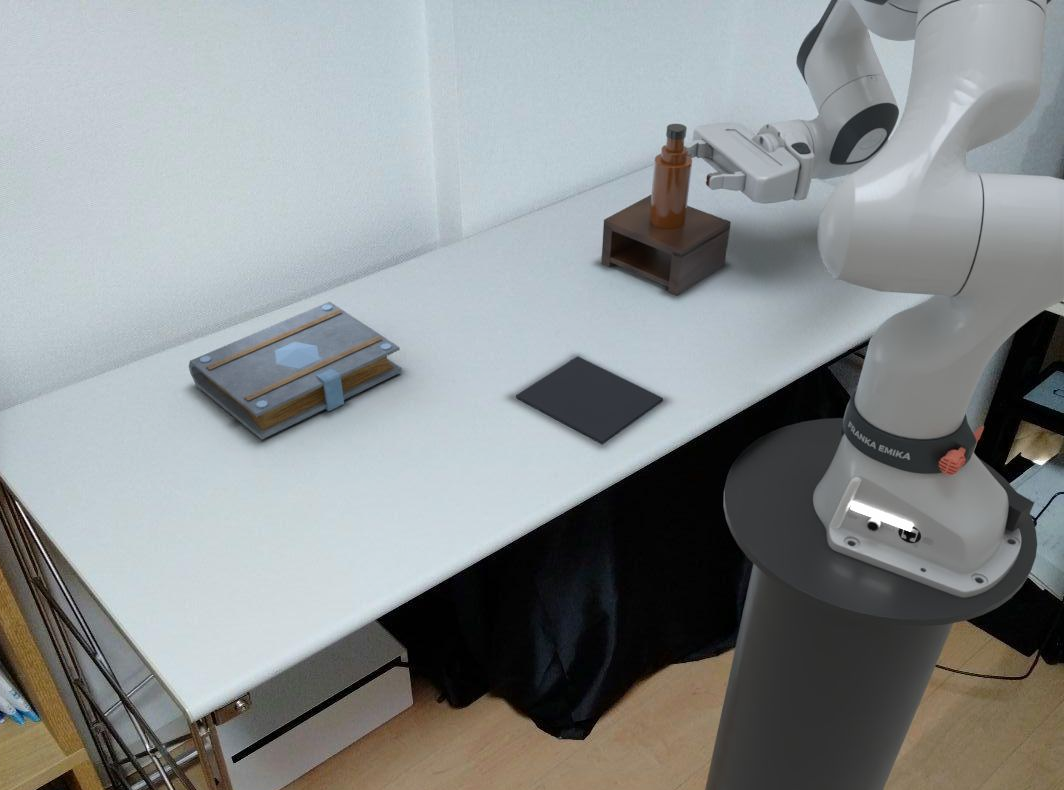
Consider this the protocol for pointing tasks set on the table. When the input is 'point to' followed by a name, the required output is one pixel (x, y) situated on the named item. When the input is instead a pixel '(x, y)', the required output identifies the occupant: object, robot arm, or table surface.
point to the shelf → (665, 246)
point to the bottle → (671, 181)
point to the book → (295, 368)
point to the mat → (589, 399)
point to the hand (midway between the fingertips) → (692, 168)
